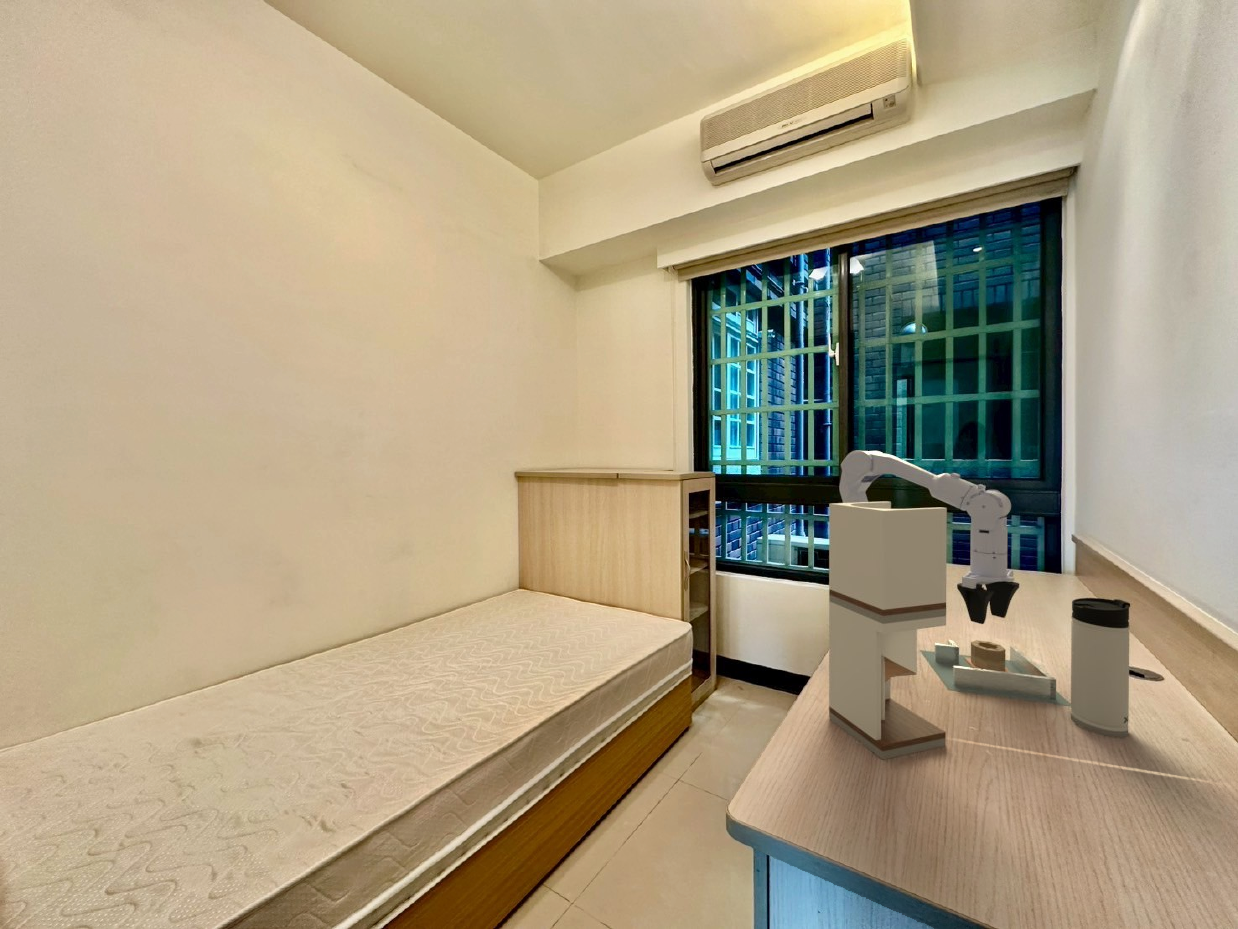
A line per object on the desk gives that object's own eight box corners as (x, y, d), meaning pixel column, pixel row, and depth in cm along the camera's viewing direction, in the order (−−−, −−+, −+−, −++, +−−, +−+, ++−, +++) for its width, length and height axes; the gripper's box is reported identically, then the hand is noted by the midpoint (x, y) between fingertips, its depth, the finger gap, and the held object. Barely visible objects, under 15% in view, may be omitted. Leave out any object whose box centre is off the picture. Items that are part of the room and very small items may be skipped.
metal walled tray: (954, 686, 84) (954, 667, 84) (929, 653, 98) (929, 637, 98) (1056, 700, 80) (1056, 679, 80) (1014, 663, 94) (1014, 646, 94)
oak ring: (977, 669, 91) (977, 648, 91) (968, 658, 95) (968, 639, 95) (1008, 672, 89) (1009, 652, 89) (997, 662, 94) (997, 642, 94)
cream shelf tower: (882, 759, 65) (883, 510, 64) (829, 718, 75) (829, 503, 74) (945, 745, 68) (946, 507, 67) (885, 708, 78) (886, 501, 77)
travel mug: (1143, 741, 68) (1145, 607, 68) (1090, 736, 70) (1092, 605, 69) (1108, 718, 74) (1109, 595, 74) (1060, 714, 76) (1061, 593, 76)
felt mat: (948, 691, 83) (948, 689, 83) (919, 651, 100) (919, 650, 100) (1074, 708, 77) (1074, 706, 77) (1021, 663, 94) (1021, 661, 94)
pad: (975, 671, 90) (975, 669, 90) (964, 658, 96) (964, 657, 96) (1013, 676, 88) (1013, 674, 88) (999, 662, 94) (999, 661, 94)
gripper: (991, 559, 85) (991, 632, 85) (1032, 551, 91) (1031, 619, 92) (950, 552, 91) (950, 620, 92) (990, 545, 98) (990, 609, 98)
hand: (988, 619), depth 92 cm, fingers open, 7 cm apart
